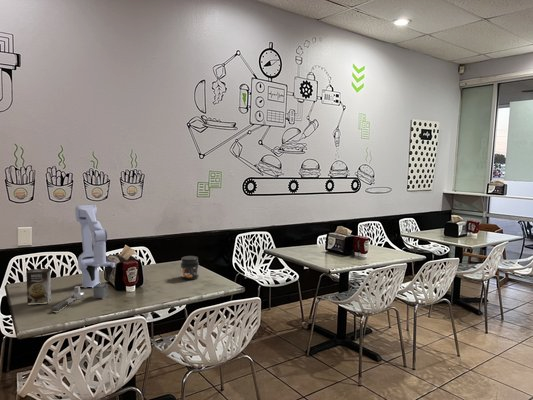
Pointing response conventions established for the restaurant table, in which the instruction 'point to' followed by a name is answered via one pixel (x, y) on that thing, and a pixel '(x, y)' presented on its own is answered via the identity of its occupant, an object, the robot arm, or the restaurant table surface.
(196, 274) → the supplement container
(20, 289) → the restaurant table surface
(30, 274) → the cookie box
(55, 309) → the ratchet
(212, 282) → the restaurant table surface
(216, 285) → the restaurant table surface
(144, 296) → the restaurant table surface
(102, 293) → the brushed metal cube
